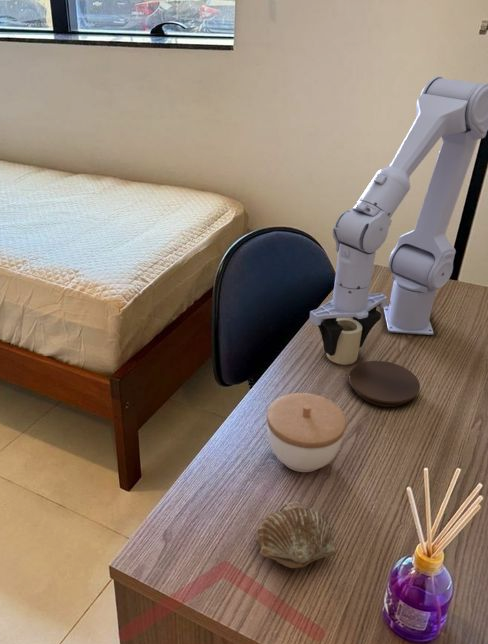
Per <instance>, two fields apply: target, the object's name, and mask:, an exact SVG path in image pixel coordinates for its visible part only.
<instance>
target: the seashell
mask: <svg viewBox="0 0 488 644" xmlns="http://www.w3.org/2000/svg"><path fill="white" fill-rule="evenodd" d="M253 537H254V541H255V543H256V544H257V545H258V547H259V549H260V551H259V555H260V556H261V557H263V558H269V559H272V560H274V561H275V562H277V563H278V564H281V565H282V566H284V567H286V568H290V569H298V568H304V567H306V566H308V565H309V564H311V563H312V562H315V561H318V560H320V559H322V558H327V557H331V556H335V555H337V553H338V550H337V547H336V546H335V543H334V541H333V534H332V530H331V525H330V523H329V521H328V520H327V518H326V517H325V515H323V514H322V513H321V512H320V511H317V510H315V509H313V508H309V507H307V506H305V504H304V503H301V502H298V501H295V502H289V503H287V504H285V505H283V506H282V507H281V509H279V510H278V511H275V512H271V513H270V514H269V515H265V517H264V518H262V519H261V522H259V526H258V527H257V529H256V531H255V533H254V536H253Z"/></svg>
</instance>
